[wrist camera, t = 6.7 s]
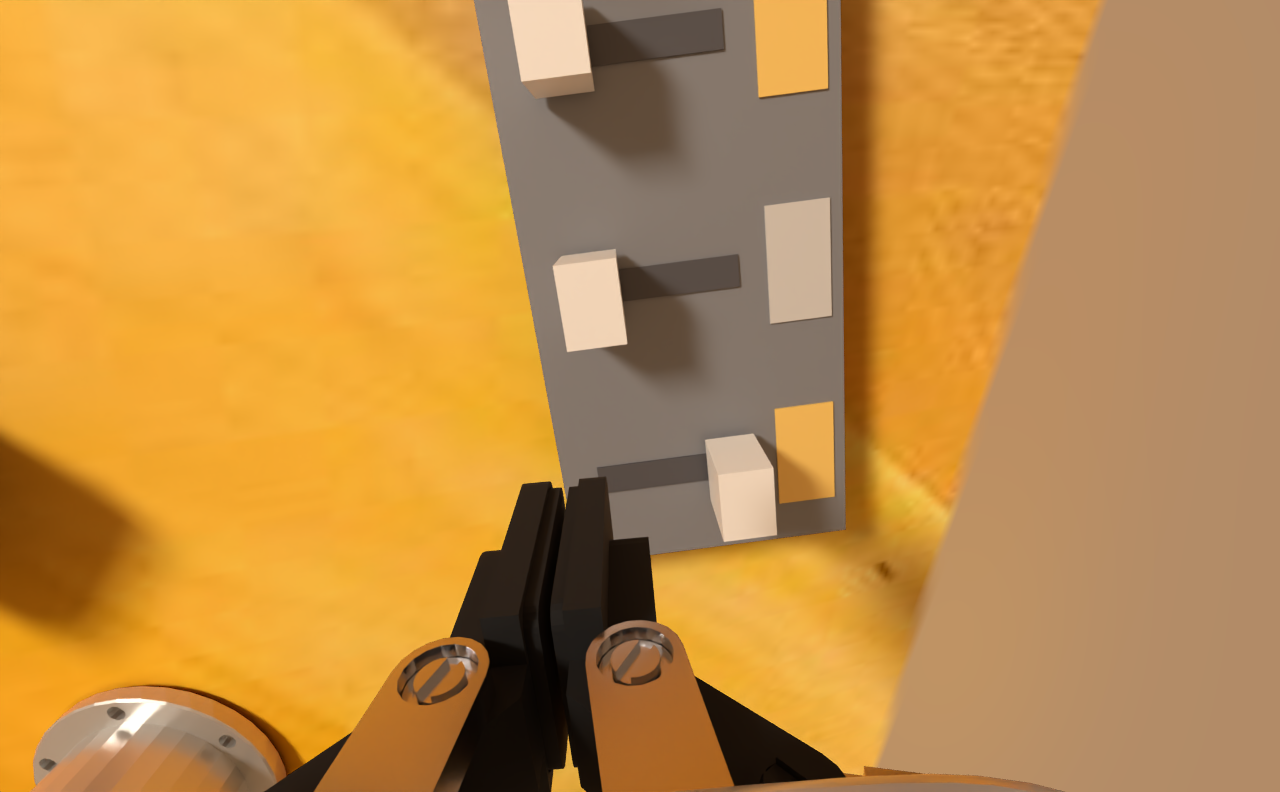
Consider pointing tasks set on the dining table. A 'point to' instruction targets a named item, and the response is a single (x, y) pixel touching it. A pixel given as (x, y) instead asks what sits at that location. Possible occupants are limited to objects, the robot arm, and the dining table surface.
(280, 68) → the dining table surface
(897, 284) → the dining table surface
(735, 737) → the robot arm
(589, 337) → the slider middle
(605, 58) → the switch panel
